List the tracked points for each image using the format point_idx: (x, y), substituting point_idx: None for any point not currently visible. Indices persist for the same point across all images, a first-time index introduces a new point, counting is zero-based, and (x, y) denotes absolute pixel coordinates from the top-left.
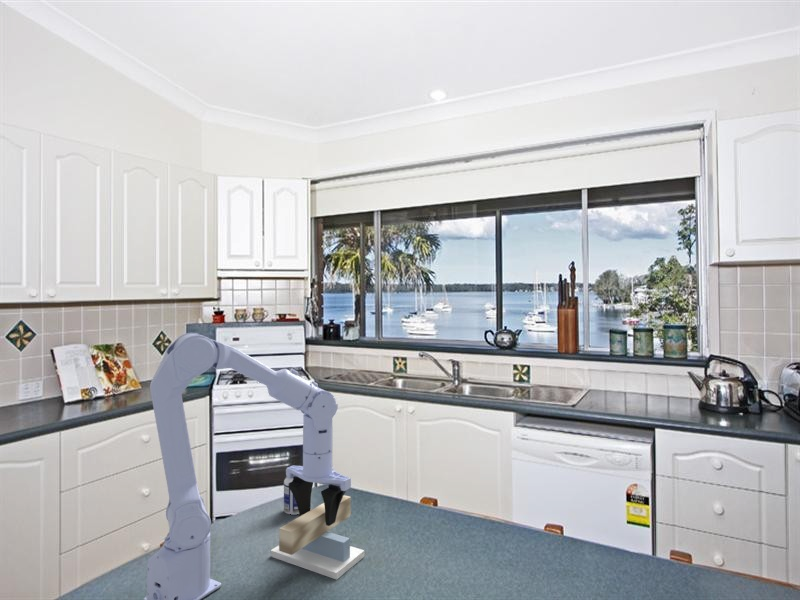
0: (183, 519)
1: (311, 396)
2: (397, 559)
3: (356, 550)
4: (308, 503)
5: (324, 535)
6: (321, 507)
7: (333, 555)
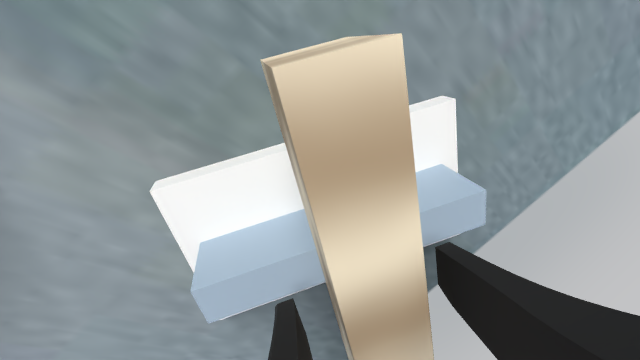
0: None
1: None
2: (538, 24)
3: (433, 121)
4: (302, 358)
5: None
6: (369, 294)
7: None
